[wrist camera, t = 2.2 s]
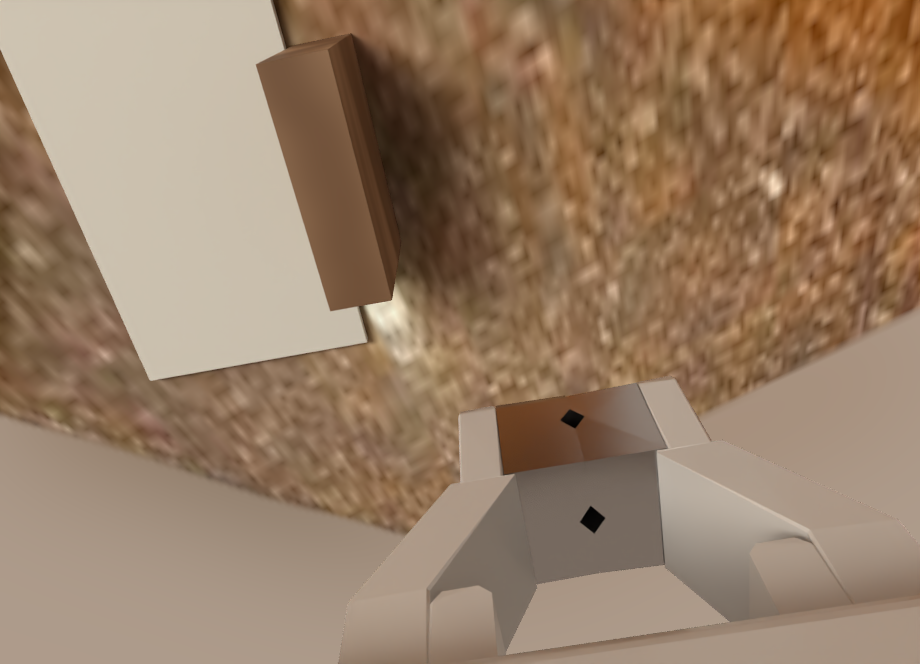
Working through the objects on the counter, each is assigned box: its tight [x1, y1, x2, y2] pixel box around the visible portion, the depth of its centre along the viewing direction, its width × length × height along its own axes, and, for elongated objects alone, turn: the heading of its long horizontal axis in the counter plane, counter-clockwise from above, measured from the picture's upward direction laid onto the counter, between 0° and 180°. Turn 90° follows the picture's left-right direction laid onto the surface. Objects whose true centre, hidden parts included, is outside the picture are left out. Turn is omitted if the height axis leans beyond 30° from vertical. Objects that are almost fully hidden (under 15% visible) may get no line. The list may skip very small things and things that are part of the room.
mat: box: [0, 0, 368, 381], centre depth 31 cm, size 11×18×1 cm, turn 11°
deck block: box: [256, 33, 401, 311], centre depth 28 cm, size 2×9×6 cm, turn 11°
